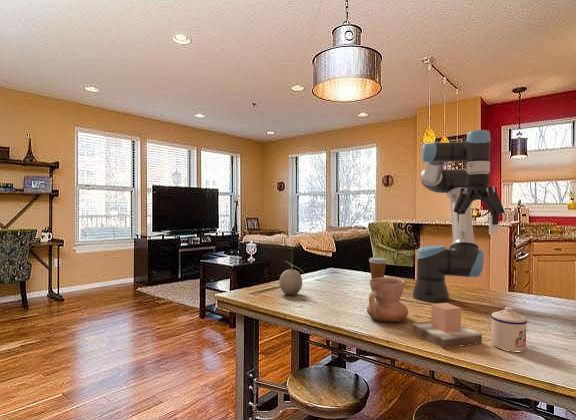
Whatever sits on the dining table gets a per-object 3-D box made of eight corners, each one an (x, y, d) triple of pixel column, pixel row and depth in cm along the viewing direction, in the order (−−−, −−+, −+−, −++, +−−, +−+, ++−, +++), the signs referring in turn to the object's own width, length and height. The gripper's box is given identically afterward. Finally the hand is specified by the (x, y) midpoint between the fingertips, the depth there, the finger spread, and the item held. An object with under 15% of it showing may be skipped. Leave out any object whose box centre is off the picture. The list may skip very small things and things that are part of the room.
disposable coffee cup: (375, 277, 202) (375, 256, 202) (389, 280, 195) (390, 258, 195) (365, 279, 196) (365, 258, 196) (379, 282, 189) (379, 260, 188)
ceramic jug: (387, 310, 140) (386, 274, 140) (418, 319, 128) (418, 280, 128) (354, 319, 130) (353, 280, 130) (385, 330, 118) (385, 288, 118)
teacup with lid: (522, 356, 98) (523, 314, 98) (486, 346, 104) (487, 307, 104) (531, 344, 107) (532, 305, 106) (497, 336, 113) (498, 299, 113)
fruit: (301, 298, 157) (301, 264, 157) (276, 296, 160) (276, 263, 160) (306, 292, 167) (306, 261, 167) (283, 290, 170) (283, 259, 170)
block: (431, 326, 113) (431, 304, 113) (446, 324, 115) (446, 302, 115) (444, 332, 108) (445, 309, 107) (460, 330, 109) (461, 308, 109)
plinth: (412, 332, 116) (412, 323, 116) (447, 327, 120) (447, 319, 120) (443, 348, 103) (443, 338, 103) (481, 343, 107) (481, 333, 107)
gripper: (444, 176, 139) (443, 230, 139) (499, 170, 115) (498, 235, 115) (459, 176, 141) (459, 230, 141) (517, 171, 117) (516, 235, 118)
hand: (476, 232), depth 128 cm, fingers open, 13 cm apart
